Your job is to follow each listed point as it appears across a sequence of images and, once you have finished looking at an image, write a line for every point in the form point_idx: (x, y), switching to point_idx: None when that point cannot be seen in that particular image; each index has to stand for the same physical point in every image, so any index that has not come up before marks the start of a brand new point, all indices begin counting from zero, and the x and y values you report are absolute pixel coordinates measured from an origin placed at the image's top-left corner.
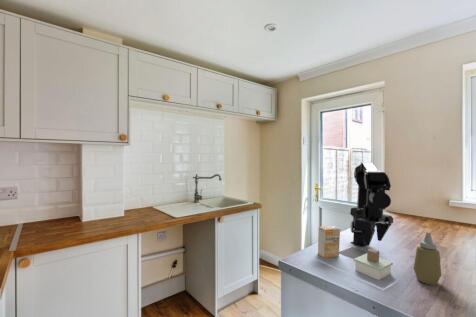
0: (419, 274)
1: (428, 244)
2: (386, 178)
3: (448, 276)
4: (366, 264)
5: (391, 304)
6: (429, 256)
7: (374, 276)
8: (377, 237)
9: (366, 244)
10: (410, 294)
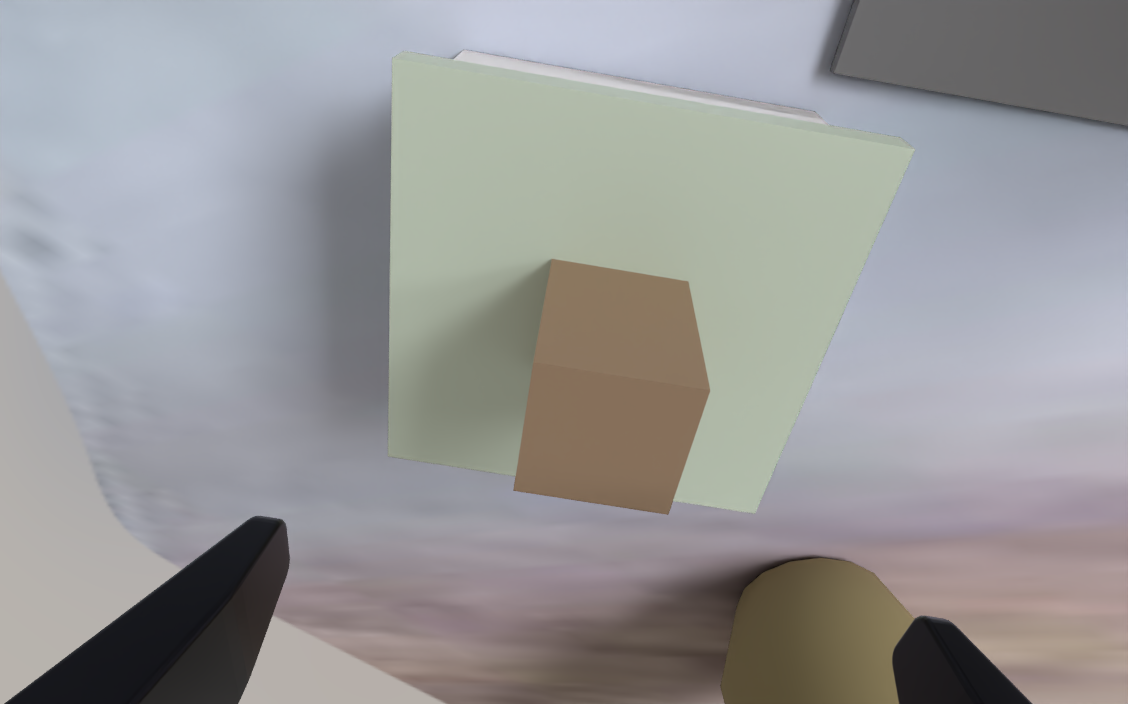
0: (744, 637)
1: None
2: None
3: (1040, 687)
4: (393, 290)
5: (152, 489)
6: None
7: None
8: (962, 679)
9: (244, 537)
10: (439, 550)
